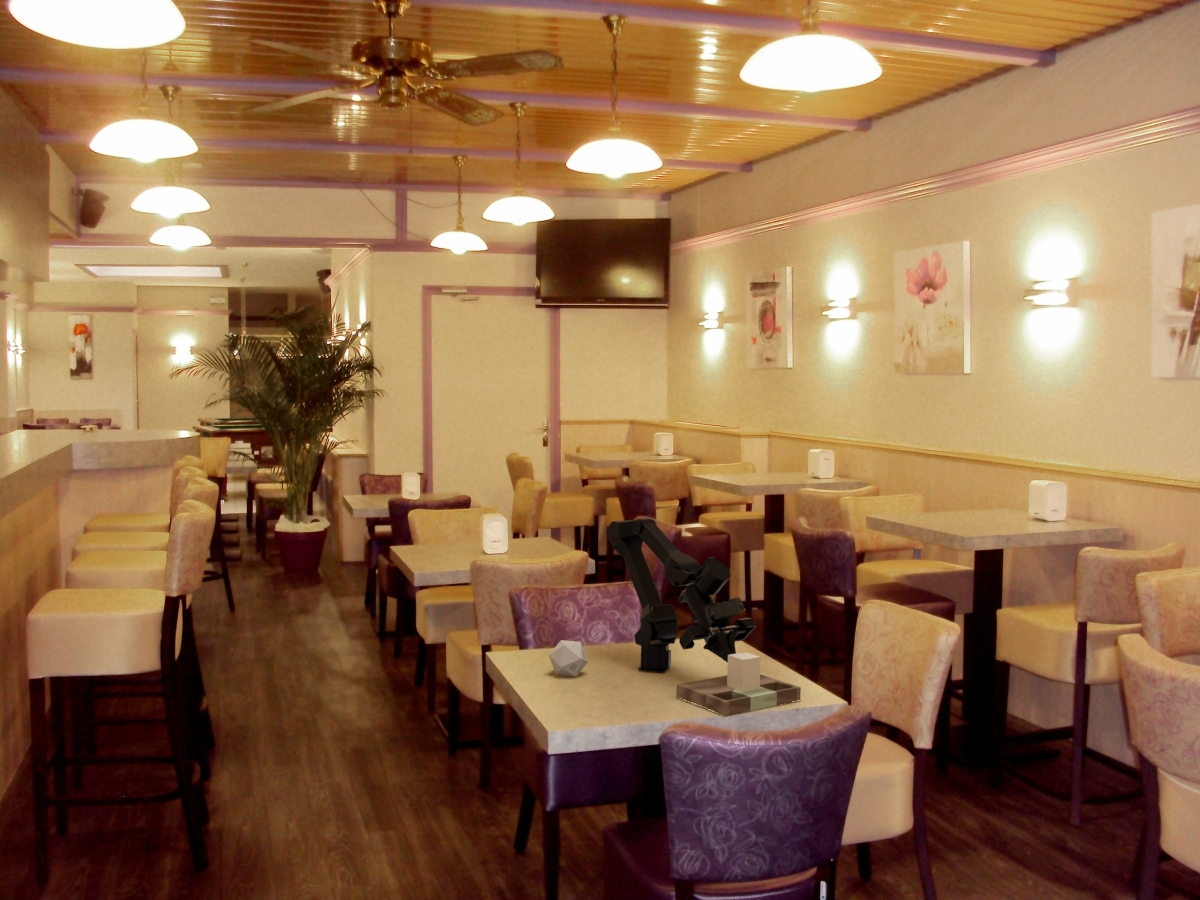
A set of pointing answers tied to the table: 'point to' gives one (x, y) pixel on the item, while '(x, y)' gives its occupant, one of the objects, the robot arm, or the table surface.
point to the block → (743, 671)
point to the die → (568, 658)
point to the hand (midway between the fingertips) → (735, 665)
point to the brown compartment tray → (737, 695)
